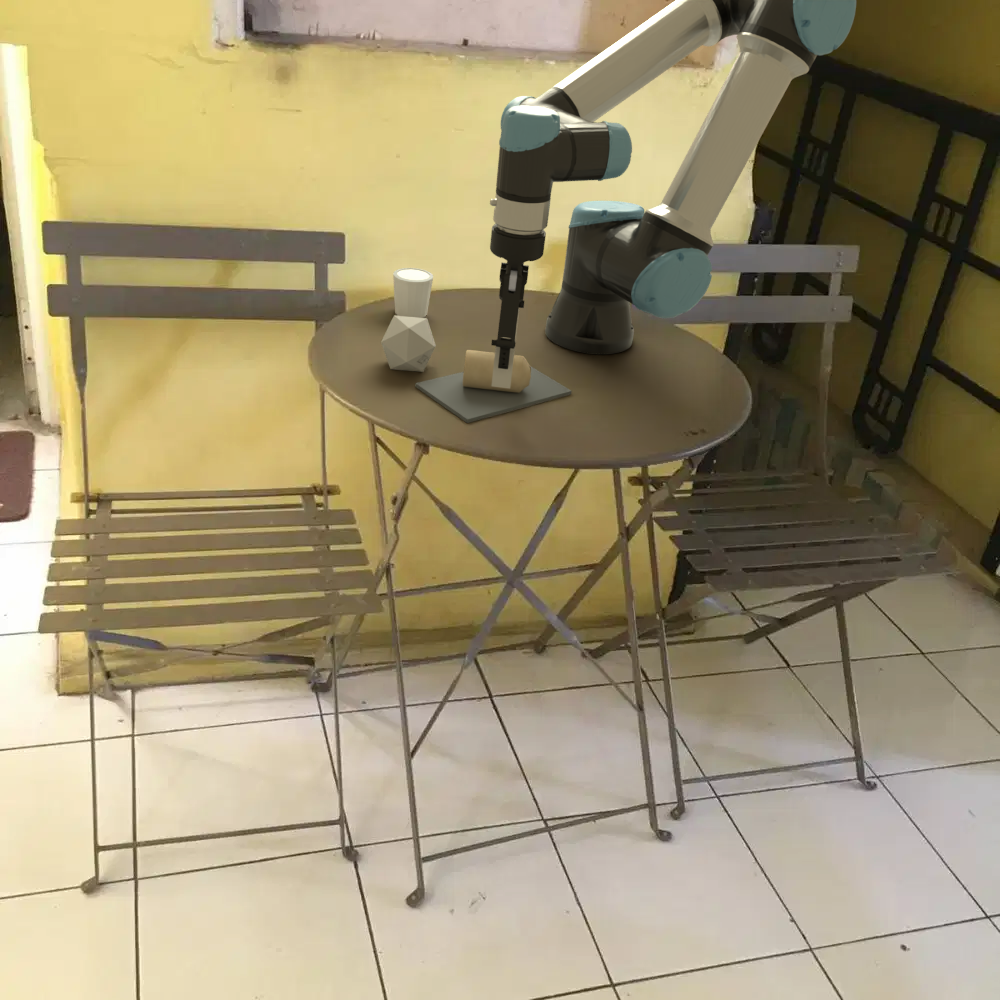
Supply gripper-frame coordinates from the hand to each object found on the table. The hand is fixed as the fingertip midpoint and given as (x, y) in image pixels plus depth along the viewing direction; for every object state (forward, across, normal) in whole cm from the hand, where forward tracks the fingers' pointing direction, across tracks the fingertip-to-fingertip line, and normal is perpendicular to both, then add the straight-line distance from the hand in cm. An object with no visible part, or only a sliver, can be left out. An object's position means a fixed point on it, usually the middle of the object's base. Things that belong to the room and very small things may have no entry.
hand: (503, 367), depth 152 cm
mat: (+4, 0, -1) cm, 4 cm away
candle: (+1, 0, -6) cm, 6 cm away
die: (+4, -5, -15) cm, 16 cm away
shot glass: (+4, -28, -17) cm, 33 cm away
